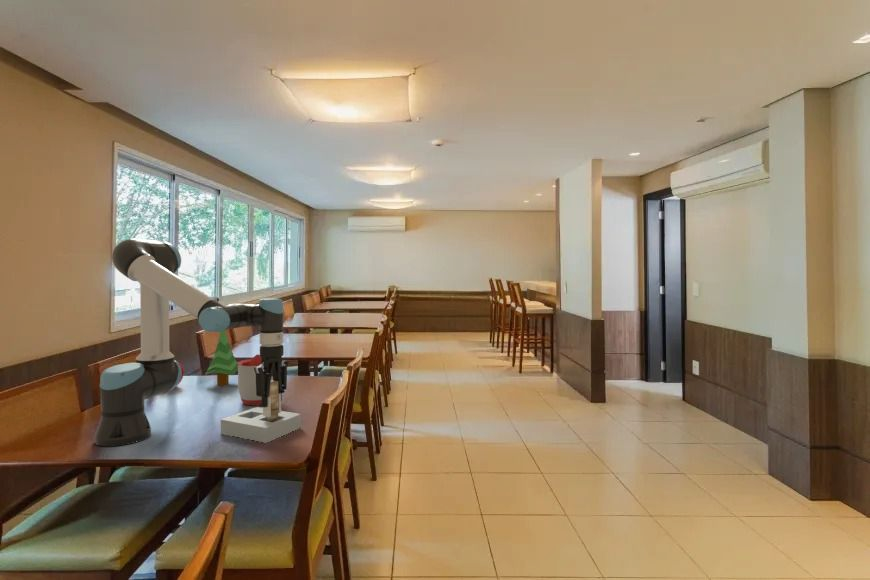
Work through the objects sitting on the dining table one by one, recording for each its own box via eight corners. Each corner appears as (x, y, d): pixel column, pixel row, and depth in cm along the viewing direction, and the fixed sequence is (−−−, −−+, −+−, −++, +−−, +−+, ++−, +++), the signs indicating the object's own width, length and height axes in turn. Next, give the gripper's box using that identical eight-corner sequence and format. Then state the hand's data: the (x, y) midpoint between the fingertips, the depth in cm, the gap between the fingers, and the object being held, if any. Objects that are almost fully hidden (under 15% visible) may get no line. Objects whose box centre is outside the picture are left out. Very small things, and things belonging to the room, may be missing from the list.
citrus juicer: (258, 410, 180) (257, 359, 180) (229, 403, 189) (228, 355, 188) (288, 400, 194) (288, 353, 193) (260, 395, 202) (260, 349, 202)
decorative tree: (200, 388, 213) (199, 324, 212) (217, 380, 229) (216, 320, 227) (228, 389, 212) (228, 324, 211) (244, 381, 228) (243, 320, 227)
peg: (272, 425, 152) (272, 383, 151) (262, 424, 154) (262, 382, 153) (281, 422, 156) (281, 381, 155) (271, 420, 157) (271, 379, 157)
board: (266, 443, 145) (266, 428, 145) (220, 434, 153) (220, 419, 153) (300, 428, 160) (300, 414, 160) (257, 420, 168) (257, 406, 168)
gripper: (260, 349, 144) (261, 423, 145) (298, 342, 160) (298, 408, 161) (243, 347, 147) (243, 419, 148) (281, 340, 163) (281, 406, 164)
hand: (272, 414), depth 154 cm, fingers closed on peg, 4 cm apart
